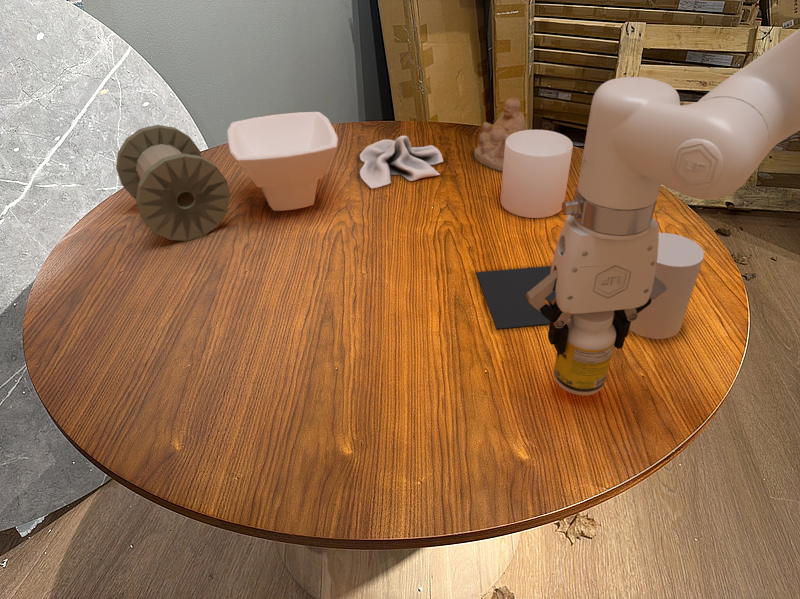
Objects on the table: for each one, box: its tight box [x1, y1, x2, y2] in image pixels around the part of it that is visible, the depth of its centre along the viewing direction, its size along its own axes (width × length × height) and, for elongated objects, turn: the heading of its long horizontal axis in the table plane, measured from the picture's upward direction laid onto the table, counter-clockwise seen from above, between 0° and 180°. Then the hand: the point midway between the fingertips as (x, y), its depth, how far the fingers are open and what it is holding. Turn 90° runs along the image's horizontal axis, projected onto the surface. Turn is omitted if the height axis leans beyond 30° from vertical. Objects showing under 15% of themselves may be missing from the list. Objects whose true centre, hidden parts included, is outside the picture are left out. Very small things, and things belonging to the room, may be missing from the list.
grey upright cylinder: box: [629, 232, 705, 340], centre depth 84 cm, size 8×8×12 cm
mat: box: [475, 265, 556, 330], centre depth 93 cm, size 14×14×1 cm
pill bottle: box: [553, 310, 616, 396], centre depth 73 cm, size 6×6×11 cm
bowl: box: [226, 111, 339, 212], centre depth 114 cm, size 19×19×14 cm
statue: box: [473, 97, 527, 172], centre depth 129 cm, size 12×14×10 cm
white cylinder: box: [500, 129, 574, 219], centre depth 112 cm, size 12×12×12 cm
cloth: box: [359, 135, 444, 190], centre depth 128 cm, size 22×19×6 cm
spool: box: [115, 124, 231, 242], centre depth 110 cm, size 16×15×15 cm
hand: (586, 342), depth 72 cm, fingers closed on pill bottle, 6 cm apart
